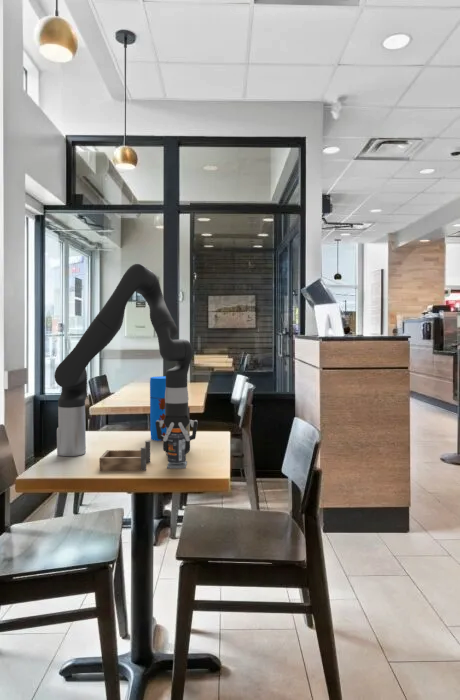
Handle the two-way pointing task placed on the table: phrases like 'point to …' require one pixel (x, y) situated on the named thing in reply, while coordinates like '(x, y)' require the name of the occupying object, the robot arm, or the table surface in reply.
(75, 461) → the table surface
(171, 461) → the pill bottle
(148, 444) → the wooden u-shaped frame
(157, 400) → the thermos
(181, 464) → the mat
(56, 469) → the table surface
